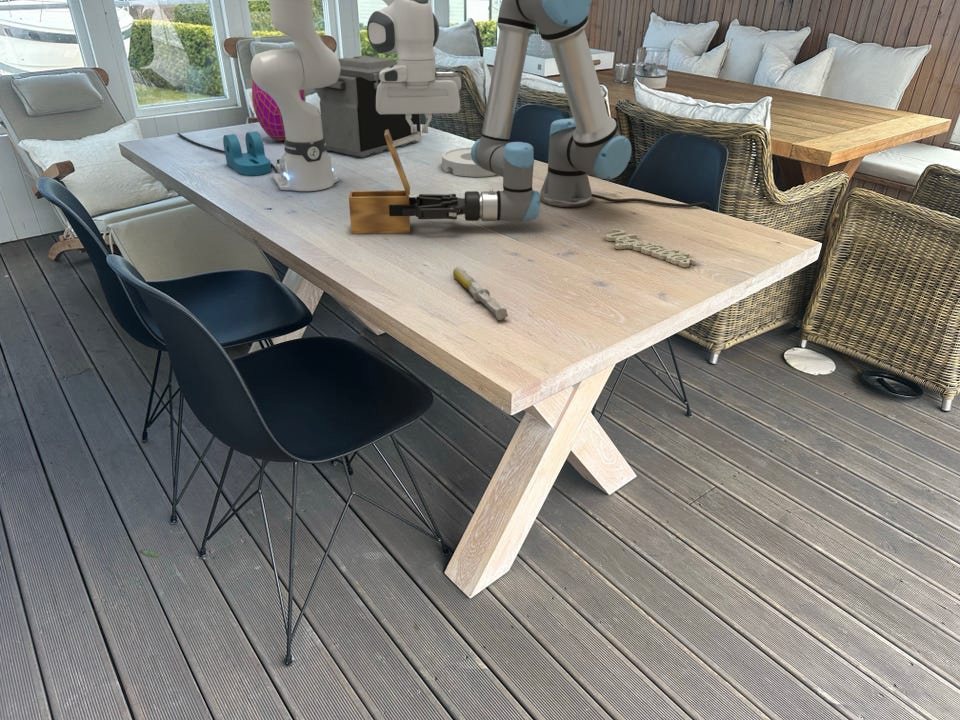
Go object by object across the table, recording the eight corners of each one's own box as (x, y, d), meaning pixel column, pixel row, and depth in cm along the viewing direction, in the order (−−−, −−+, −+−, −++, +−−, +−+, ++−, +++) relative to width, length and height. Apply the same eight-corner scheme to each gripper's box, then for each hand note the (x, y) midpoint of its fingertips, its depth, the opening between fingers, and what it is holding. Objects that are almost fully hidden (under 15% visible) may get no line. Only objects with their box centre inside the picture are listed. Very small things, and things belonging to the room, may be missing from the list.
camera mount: (227, 164, 233) (221, 132, 227) (257, 160, 238) (252, 129, 233) (244, 176, 220) (239, 143, 215) (276, 172, 225) (271, 139, 220)
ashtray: (444, 158, 243) (444, 146, 241) (509, 159, 243) (510, 147, 241) (439, 176, 224) (438, 163, 222) (510, 177, 223) (510, 165, 221)
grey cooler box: (383, 133, 276) (378, 52, 261) (425, 141, 265) (422, 56, 250) (314, 150, 251) (304, 61, 235) (358, 160, 240) (350, 67, 224)
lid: (384, 135, 165) (415, 124, 164) (385, 130, 170) (415, 119, 169) (406, 195, 173) (437, 185, 172) (407, 188, 178) (436, 179, 177)
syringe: (449, 274, 155) (449, 263, 153) (465, 272, 156) (464, 260, 154) (490, 323, 135) (491, 310, 133) (508, 319, 136) (508, 307, 134)
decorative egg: (293, 132, 276) (283, 50, 261) (319, 140, 264) (310, 56, 249) (249, 139, 265) (236, 54, 250) (273, 148, 253) (261, 60, 238)
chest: (351, 233, 177) (348, 197, 172) (353, 226, 182) (350, 190, 177) (410, 232, 178) (408, 196, 173) (410, 225, 183) (408, 190, 178)
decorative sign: (591, 236, 174) (616, 227, 180) (591, 240, 174) (616, 231, 180) (679, 267, 157) (703, 256, 163) (678, 271, 158) (703, 260, 163)
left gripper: (460, 69, 164) (461, 129, 171) (374, 70, 163) (379, 130, 170) (461, 73, 159) (462, 134, 166) (372, 74, 158) (377, 136, 165)
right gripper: (478, 181, 184) (391, 181, 183) (481, 203, 168) (386, 203, 167) (478, 208, 188) (393, 209, 187) (481, 232, 172) (388, 233, 171)
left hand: (419, 132), depth 168 cm, fingers closed
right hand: (390, 206), depth 177 cm, fingers closed on chest, 6 cm apart
